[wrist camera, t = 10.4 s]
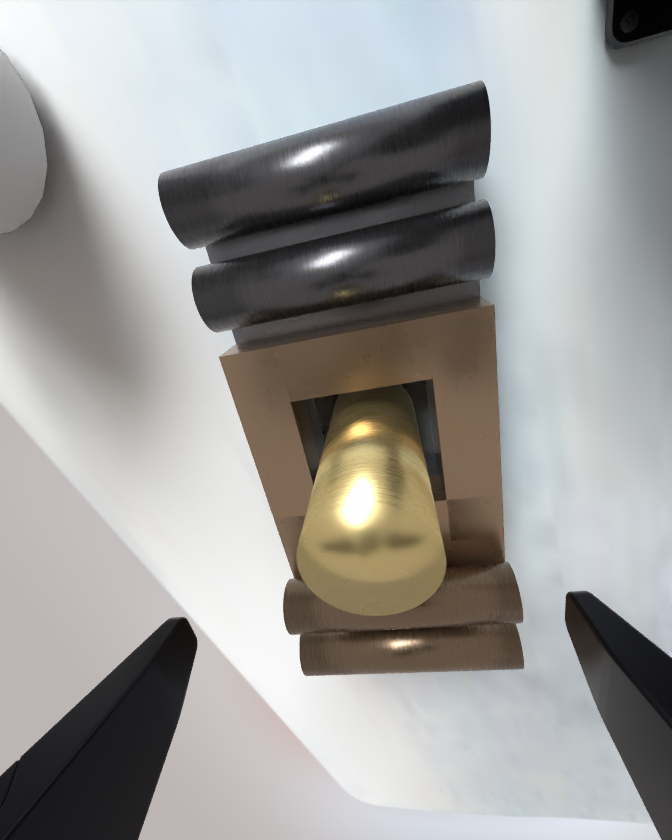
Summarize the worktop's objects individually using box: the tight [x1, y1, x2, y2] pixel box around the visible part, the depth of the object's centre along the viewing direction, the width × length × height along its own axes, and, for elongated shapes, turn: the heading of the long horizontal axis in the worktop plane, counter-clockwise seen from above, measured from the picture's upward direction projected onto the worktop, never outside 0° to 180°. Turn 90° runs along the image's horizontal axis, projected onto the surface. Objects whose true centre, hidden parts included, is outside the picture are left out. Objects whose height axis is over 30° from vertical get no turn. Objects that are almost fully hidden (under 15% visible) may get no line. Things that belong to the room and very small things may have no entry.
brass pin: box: [296, 384, 446, 616], centre depth 15 cm, size 4×4×10 cm
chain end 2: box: [219, 297, 524, 676], centre depth 18 cm, size 10×16×6 cm, turn 12°
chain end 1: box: [158, 81, 495, 475], centre depth 16 cm, size 10×16×4 cm, turn 12°
